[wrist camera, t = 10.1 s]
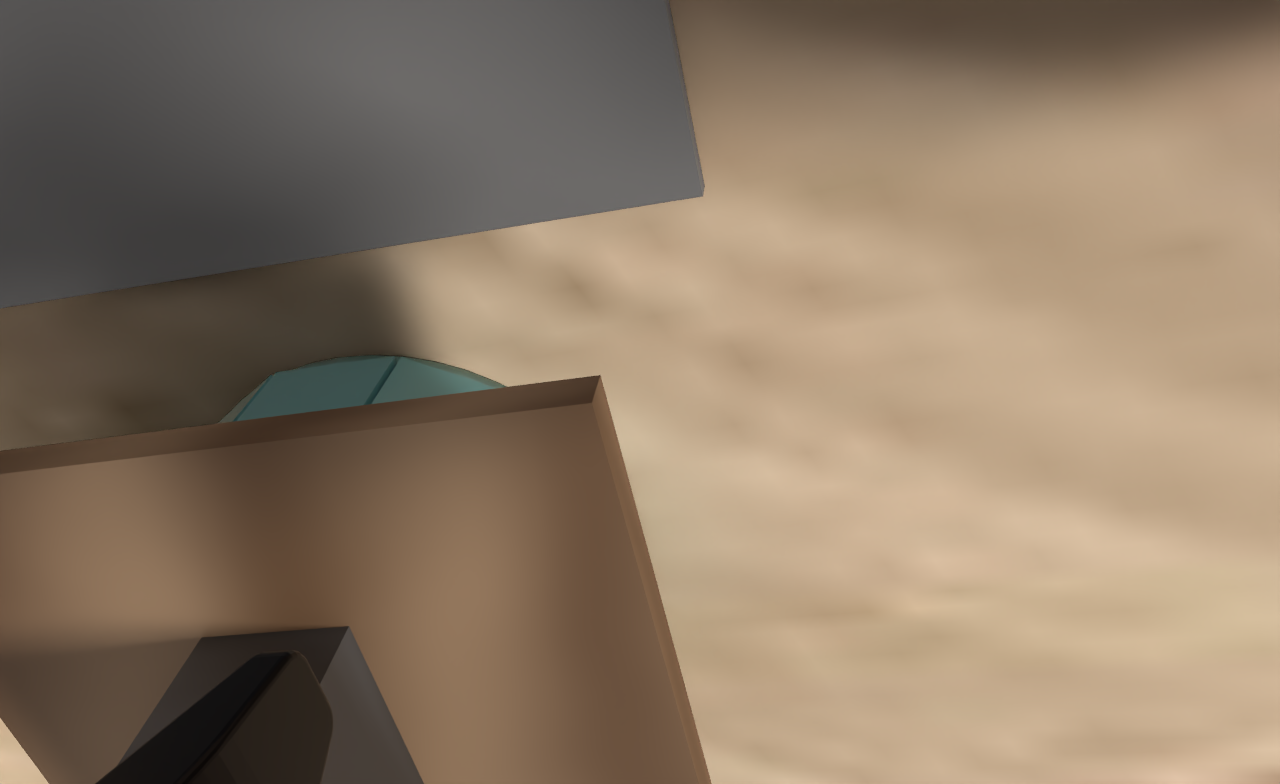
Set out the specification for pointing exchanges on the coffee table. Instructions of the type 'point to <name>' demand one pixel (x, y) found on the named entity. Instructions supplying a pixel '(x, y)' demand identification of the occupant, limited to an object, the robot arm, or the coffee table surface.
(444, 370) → the teal bowl
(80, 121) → the mat
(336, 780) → the lid
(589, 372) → the coffee table surface
